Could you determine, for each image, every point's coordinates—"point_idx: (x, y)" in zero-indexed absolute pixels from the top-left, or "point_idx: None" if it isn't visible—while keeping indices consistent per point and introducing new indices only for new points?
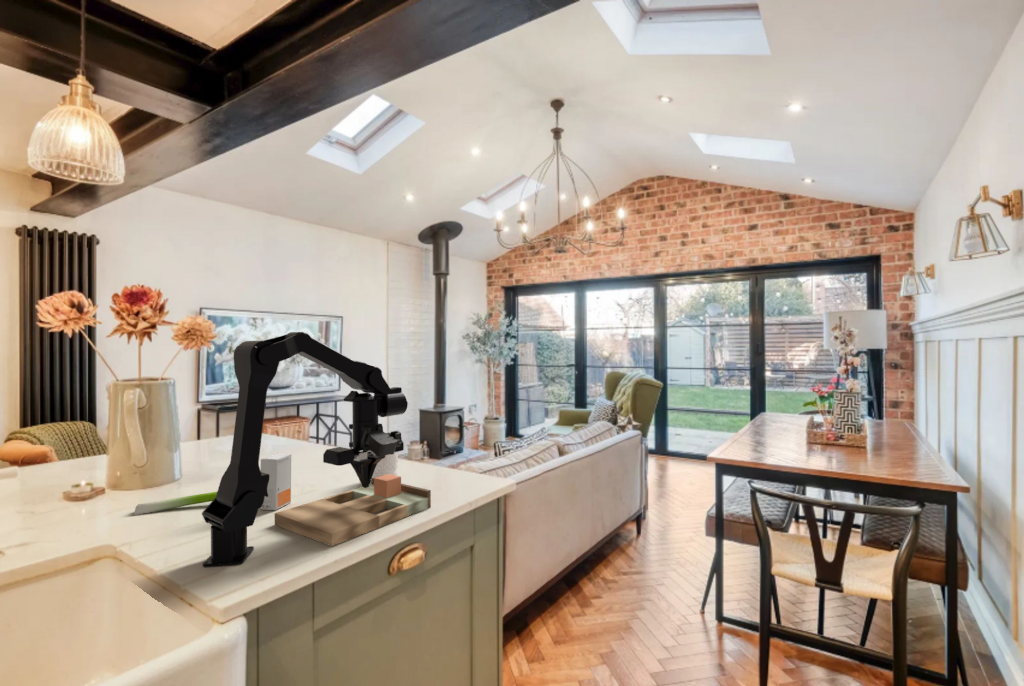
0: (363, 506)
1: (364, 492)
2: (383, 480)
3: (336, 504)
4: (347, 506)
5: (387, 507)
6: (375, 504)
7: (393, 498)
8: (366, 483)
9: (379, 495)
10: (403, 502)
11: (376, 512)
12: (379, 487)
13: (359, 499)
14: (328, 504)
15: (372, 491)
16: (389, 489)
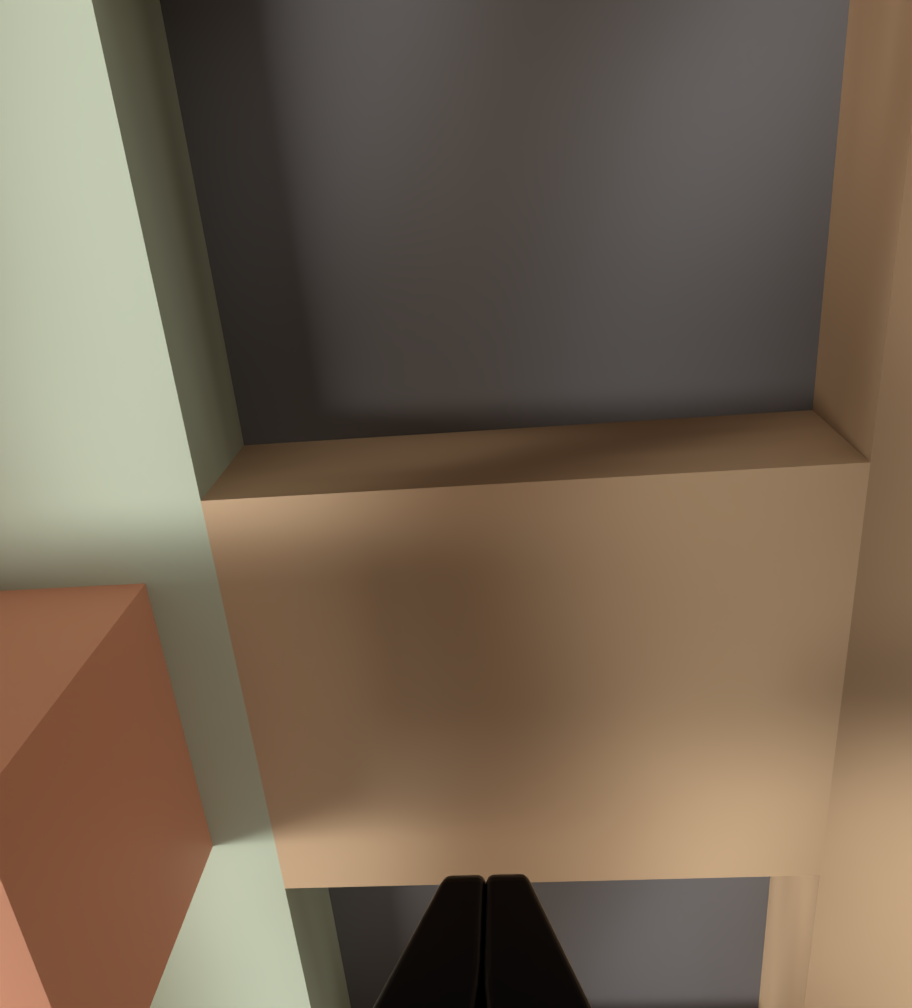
0: (690, 537)
1: (259, 999)
2: (11, 901)
3: (851, 901)
4: (837, 726)
5: (235, 437)
6: (469, 481)
7: (64, 473)
8: (532, 947)
9: (182, 749)
10: (24, 98)
11: (458, 425)
12: (128, 856)
13: (500, 835)
14: (909, 969)
15: None
16: (11, 665)
